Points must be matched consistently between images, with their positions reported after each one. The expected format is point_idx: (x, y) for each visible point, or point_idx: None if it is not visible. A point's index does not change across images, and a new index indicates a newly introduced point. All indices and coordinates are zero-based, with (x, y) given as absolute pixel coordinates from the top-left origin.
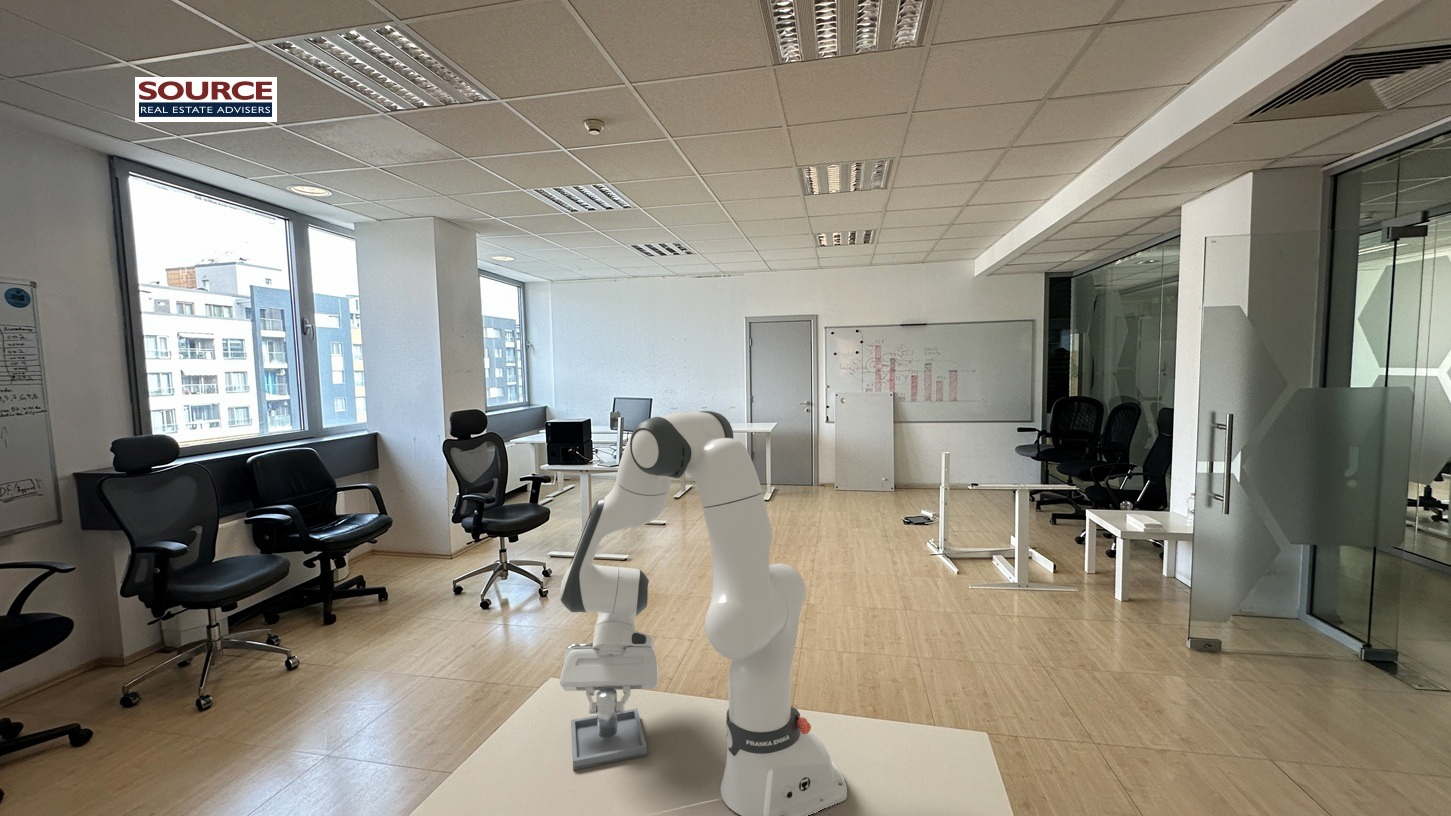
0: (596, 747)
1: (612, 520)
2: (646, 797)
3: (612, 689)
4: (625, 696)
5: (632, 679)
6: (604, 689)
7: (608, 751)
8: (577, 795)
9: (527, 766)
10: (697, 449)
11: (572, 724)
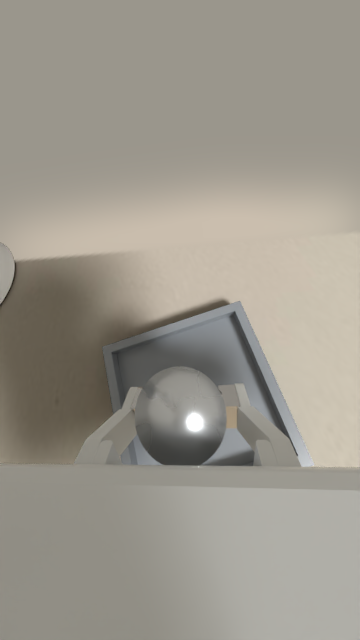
0: (209, 364)
1: None
2: (110, 263)
3: (157, 451)
4: (108, 424)
5: (31, 491)
6: (197, 455)
7: (181, 351)
8: (210, 260)
9: (335, 318)
10: None
11: (299, 440)
